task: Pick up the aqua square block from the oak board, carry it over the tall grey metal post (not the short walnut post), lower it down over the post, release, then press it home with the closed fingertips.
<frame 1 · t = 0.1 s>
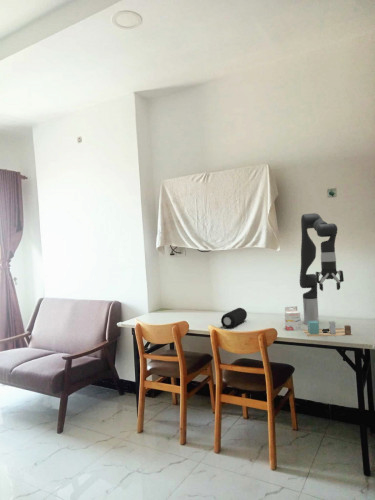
hand: (329, 290, 193), 29 cm above the table, fingers open, 8 cm apart
aqua square block: (313, 332, 214), point 1 cm above the table, touching oak board
portable speaker: (234, 324, 249), on the table
ink cartridge box: (293, 330, 225), on the table
grey post: (332, 334, 209), resting on oak board
walnut post: (348, 335, 206), resting on oak board
oak board: (326, 333, 213), on the table
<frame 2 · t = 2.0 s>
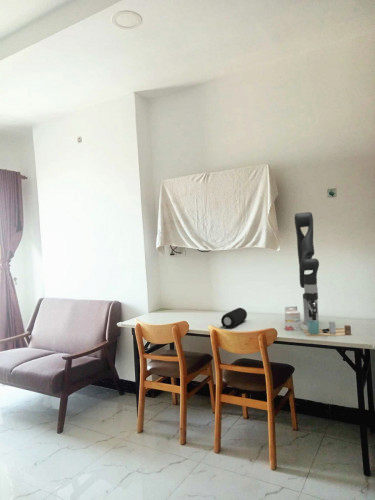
hand: (312, 318, 213), 9 cm above the table, fingers open, 8 cm apart
nothing on the table moved.
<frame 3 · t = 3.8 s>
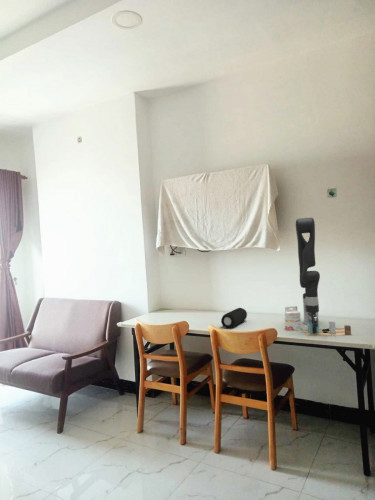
hand: (313, 331, 214), 1 cm above the table, fingers closed on aqua square block, 5 cm apart
aqua square block: (313, 332, 214), point 1 cm above the table, touching gripper, oak board
everything else where it was.
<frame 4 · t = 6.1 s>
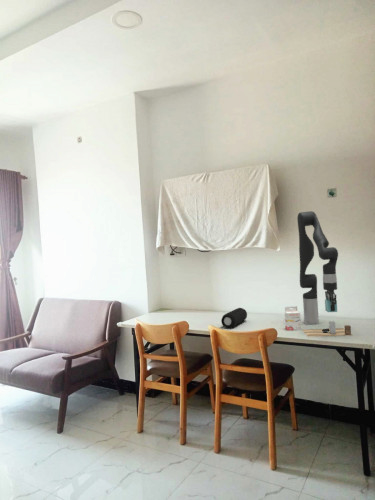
hand: (331, 310, 209), 15 cm above the table, fingers closed on aqua square block, 5 cm apart
aqua square block: (331, 311, 209), point 14 cm above the table, touching gripper
everything else where it was.
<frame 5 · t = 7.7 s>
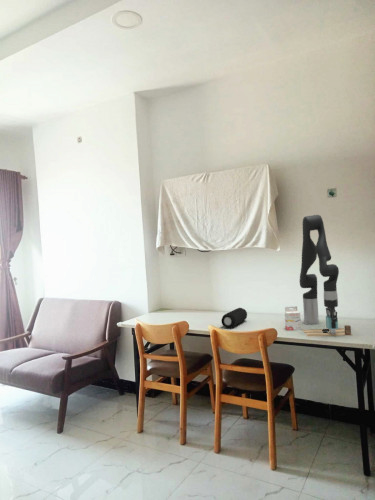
hand: (332, 326, 209), 5 cm above the table, fingers closed on aqua square block, 5 cm apart
aqua square block: (332, 328, 209), point 4 cm above the table, touching gripper
everything else where it was.
when the fingers open (4 cm above the table, at t = 8.9 s): aqua square block drops 1 cm, resting on grey post.
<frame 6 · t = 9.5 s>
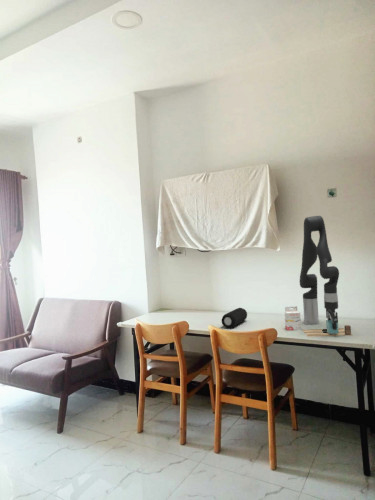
hand: (332, 327, 209), 4 cm above the table, fingers open, 8 cm apart
aqua square block: (332, 332, 209), point 2 cm above the table, touching grey post
everything else where it was.
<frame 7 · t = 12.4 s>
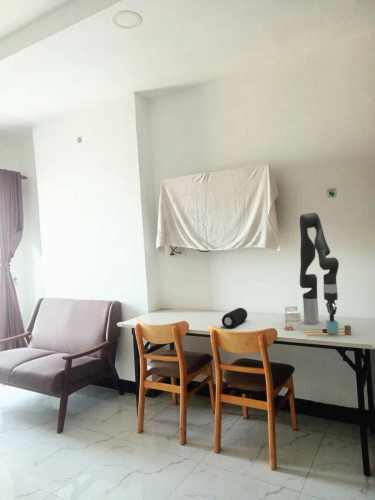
hand: (332, 320, 209), 8 cm above the table, fingers closed
nothing on the table moved.
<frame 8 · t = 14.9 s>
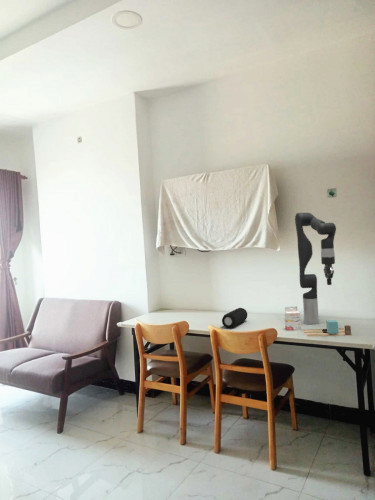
hand: (329, 284, 213), 29 cm above the table, fingers closed
nothing on the table moved.
at the end: aqua square block 0.1 cm from the grey post (horizontally); aqua square block point 1.6 cm above the table; the gripper is holding nothing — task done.
